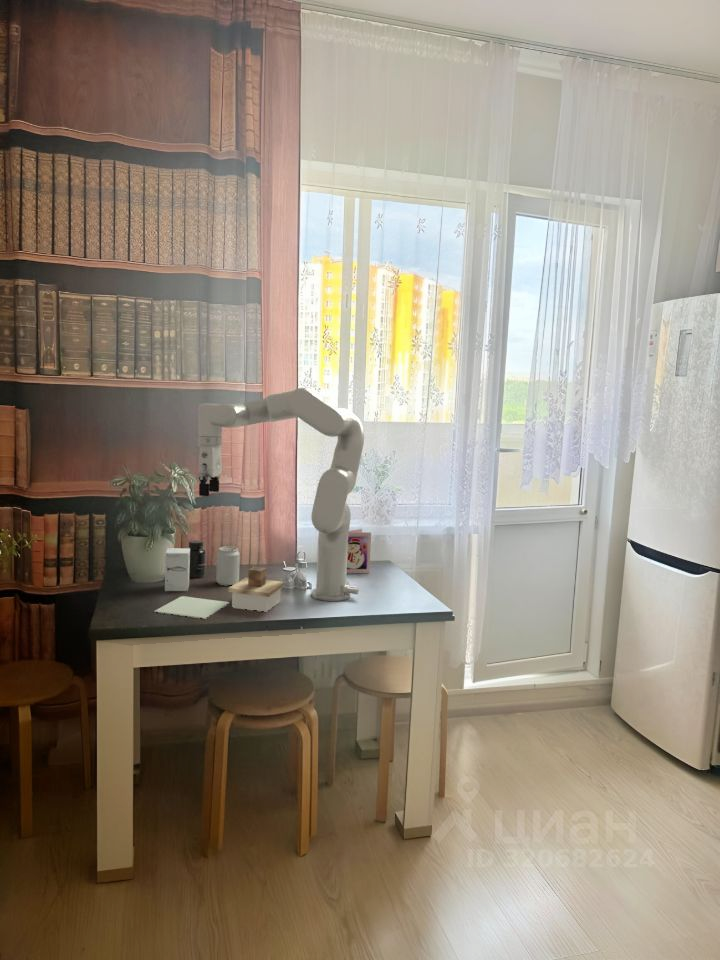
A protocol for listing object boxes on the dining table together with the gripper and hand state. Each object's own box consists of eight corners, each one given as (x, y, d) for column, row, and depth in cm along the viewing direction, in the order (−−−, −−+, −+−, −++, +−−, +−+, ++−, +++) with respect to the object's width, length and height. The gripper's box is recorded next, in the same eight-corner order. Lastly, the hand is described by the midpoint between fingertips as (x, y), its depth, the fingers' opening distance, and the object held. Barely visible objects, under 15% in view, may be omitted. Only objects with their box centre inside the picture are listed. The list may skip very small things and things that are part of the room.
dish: (280, 601, 226) (280, 586, 225) (266, 612, 216) (266, 595, 215) (247, 597, 229) (247, 582, 228) (232, 607, 218) (232, 591, 218)
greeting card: (338, 573, 262) (340, 532, 260) (335, 568, 270) (337, 528, 268) (369, 573, 265) (371, 533, 263) (365, 568, 272) (367, 528, 270)
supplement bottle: (204, 578, 248) (204, 544, 247) (183, 578, 248) (184, 543, 246) (206, 573, 255) (207, 539, 254) (186, 573, 254) (187, 539, 253)
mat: (229, 603, 222) (229, 602, 222) (204, 619, 207) (204, 617, 207) (181, 597, 226) (181, 596, 226) (154, 612, 211) (154, 610, 211)
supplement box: (164, 591, 231) (164, 552, 230) (166, 585, 239) (166, 547, 237) (188, 591, 233) (188, 552, 231) (189, 585, 240) (190, 547, 238)
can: (236, 587, 240) (237, 551, 239) (214, 585, 240) (214, 550, 239) (240, 580, 248) (241, 546, 246) (218, 579, 248) (219, 545, 246)
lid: (284, 585, 226) (285, 566, 225) (268, 597, 214) (269, 576, 213) (245, 581, 229) (246, 561, 229) (227, 591, 217) (228, 571, 216)
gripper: (212, 444, 229) (211, 498, 231) (229, 440, 246) (228, 490, 248) (189, 443, 230) (188, 496, 232) (207, 439, 247) (207, 489, 249)
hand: (209, 493), depth 240 cm, fingers open, 9 cm apart
